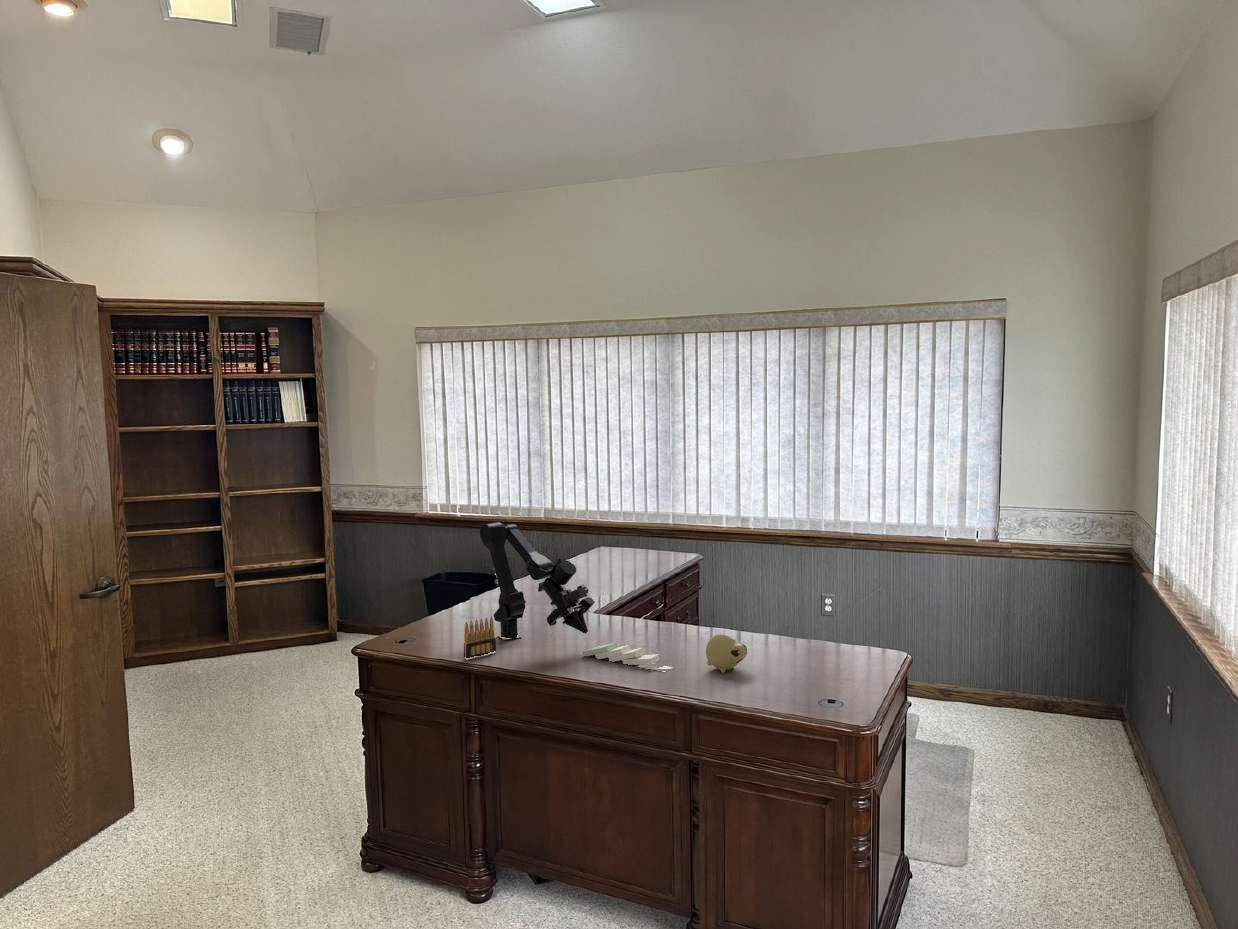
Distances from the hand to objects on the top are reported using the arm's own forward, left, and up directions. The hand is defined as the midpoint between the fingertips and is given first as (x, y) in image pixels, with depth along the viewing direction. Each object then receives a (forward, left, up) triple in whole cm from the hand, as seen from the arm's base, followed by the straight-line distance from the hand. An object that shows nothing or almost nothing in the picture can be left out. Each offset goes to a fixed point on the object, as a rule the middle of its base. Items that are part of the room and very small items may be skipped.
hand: (586, 632), depth 270 cm
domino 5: (+18, +8, -8) cm, 21 cm away
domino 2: (+5, +2, -6) cm, 8 cm away
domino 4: (+14, +6, -6) cm, 16 cm away
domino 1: (0, 0, -6) cm, 6 cm away
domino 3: (+9, +4, -6) cm, 12 cm away
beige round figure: (+36, +27, -7) cm, 46 cm away
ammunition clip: (-18, -28, -7) cm, 34 cm away
